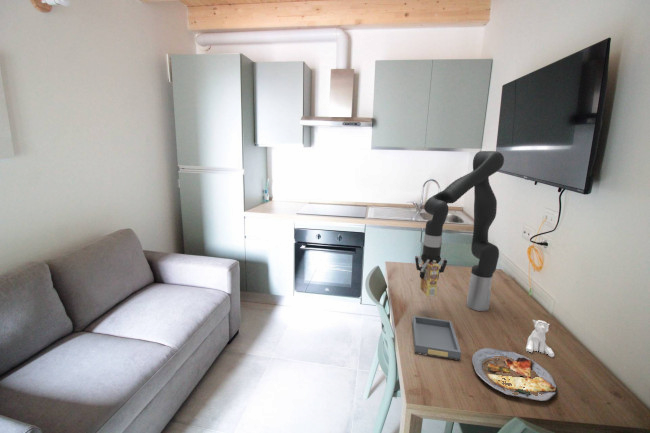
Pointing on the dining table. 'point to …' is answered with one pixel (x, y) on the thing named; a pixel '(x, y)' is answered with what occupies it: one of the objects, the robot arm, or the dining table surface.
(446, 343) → the labelled tray
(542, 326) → the sitting furry creature
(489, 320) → the dining table surface
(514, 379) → the food plate
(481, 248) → the robot arm
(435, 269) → the candy box
